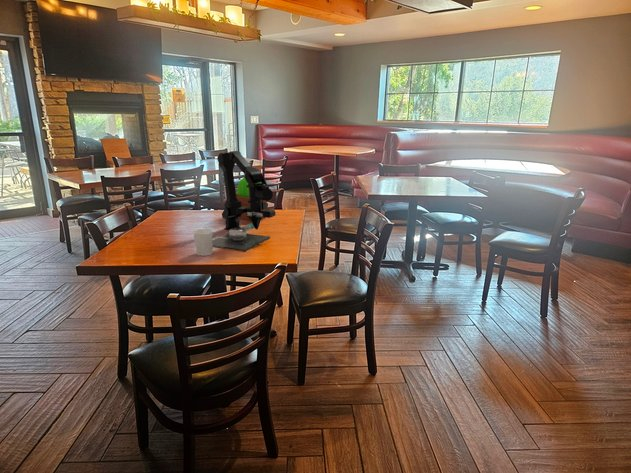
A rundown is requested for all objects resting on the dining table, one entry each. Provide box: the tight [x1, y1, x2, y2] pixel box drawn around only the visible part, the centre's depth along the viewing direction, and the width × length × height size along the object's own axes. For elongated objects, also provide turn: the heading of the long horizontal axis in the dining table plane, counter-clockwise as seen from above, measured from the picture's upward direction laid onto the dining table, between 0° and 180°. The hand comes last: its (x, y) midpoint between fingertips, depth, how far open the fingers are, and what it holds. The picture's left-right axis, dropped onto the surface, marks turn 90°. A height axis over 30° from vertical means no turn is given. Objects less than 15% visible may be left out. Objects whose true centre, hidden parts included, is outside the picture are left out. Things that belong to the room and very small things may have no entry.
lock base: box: [212, 232, 271, 252], centre depth 195 cm, size 24×22×2 cm
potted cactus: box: [236, 177, 271, 221], centre depth 239 cm, size 22×22×25 cm
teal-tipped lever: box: [228, 222, 255, 239], centre depth 198 cm, size 17×8×3 cm, turn 156°
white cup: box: [193, 228, 214, 257], centre depth 178 cm, size 8×8×10 cm
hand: (256, 229), depth 200 cm, fingers closed
